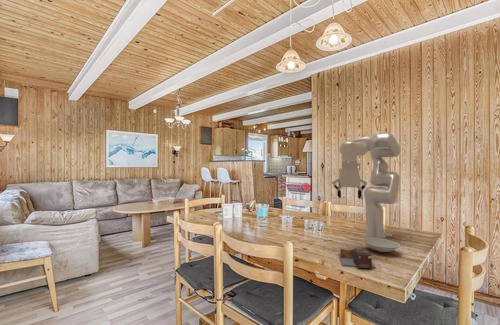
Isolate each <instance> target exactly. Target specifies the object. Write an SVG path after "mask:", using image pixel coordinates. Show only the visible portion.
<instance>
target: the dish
mask: <svg viewBox="0 0 500 325" xmlns="http://www.w3.org/2000/svg"><path fill="white" fill-rule="evenodd" d="M362 242H363V243H364V244H365V245H366V247H369V248H370V249H371V250H374V251H377V252H379V253H389V252H390V253H391V252H393V251H396V250H397V249H398V248H400V247H401V244H400V243H399V242H397V241H394V240H391V239H387V238H386V239H381V238H363V239H362Z"/></svg>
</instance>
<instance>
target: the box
mask: <svg viewBox="0 0 500 325" xmlns="http://www.w3.org/2000/svg"><path fill="white" fill-rule="evenodd" d="M352 249H353V261H354V263H355V264H356V265H357V267H356V268H358V269H373V268H372V263H373V256H372V254H371V253H370V251H369V252H368V251H367V250H368V249H365V248H364V249H363V248H352Z"/></svg>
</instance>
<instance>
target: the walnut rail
mask: <svg viewBox="0 0 500 325" xmlns="http://www.w3.org/2000/svg"><path fill="white" fill-rule="evenodd" d="M353 249H354V248H351V249H349V248H340V253H339V254H340V257H341V258H351V259H353ZM366 250H367V251H368V252H369V253H370V250H368V249H366Z"/></svg>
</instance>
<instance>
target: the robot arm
mask: <svg viewBox="0 0 500 325" xmlns="http://www.w3.org/2000/svg"><path fill="white" fill-rule="evenodd" d="M368 152H369V154H370V157H371V160H372V164H373V166H372V170H371V175H370V181H369V182H370V184H371V185H372V186H368V187H367V184H368V182H367V181H365V180H363V179H361V174H360V170H359V166H361V163H359V162H358V156H359V157H361V156H365V155H366V154H368ZM339 153H340V154H341V167H340V168H339V174H338V178H337V179H335V180H333V181H332V182H331V183H332V185H333V187H334V188H335V189H336V190H337V192H336V193H337V197H338V198H339V199H341V198H342V188H357V198H358V199H359V200H360V199H361V197H362V194H363V195H364V196H363V197H364V202H365V233H364V234H363V235H362V237H363V239H365V238H381V239H387V237H391V238H392V237H393V234H392V233H389V232H386V231H384V209H383V207H382V205H381V204H383V205H384V204H386V205H393V204H395V203H396V201H397V197H398V193H399V187H400V182H401V181H400V175H399V173H397V172H395V171H388V170H389V163H388V162H387V161H386V160H385V159H384V158H397V157H399V155H400V153H401V147H400V144H399V143H398V141H397V139H396V138H395V136H394V135H393V134H392V133H390V132H382V133H372V134H370V135H367V136H364V137H360V138H355V139H351V140H347V141H343V142H342V143H340V146H339ZM337 183H338V186H337V185H336V184H337ZM361 183H362V186H361ZM363 190H364V191H363ZM362 191H363V192H362Z"/></svg>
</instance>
